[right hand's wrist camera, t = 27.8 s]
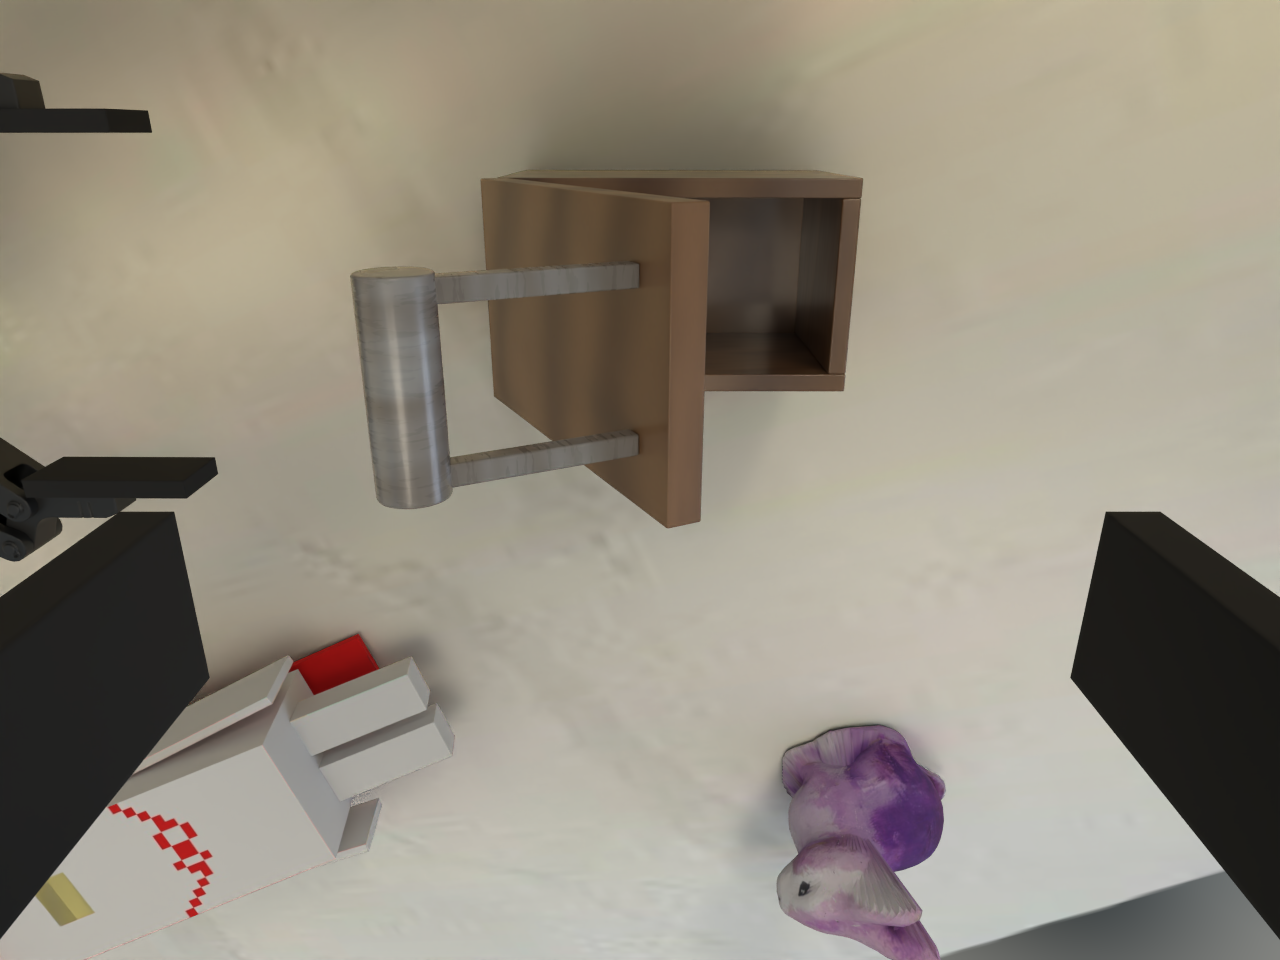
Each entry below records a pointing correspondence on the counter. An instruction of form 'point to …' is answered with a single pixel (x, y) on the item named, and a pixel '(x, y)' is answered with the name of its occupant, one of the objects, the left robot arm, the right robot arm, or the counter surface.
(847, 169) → the counter surface
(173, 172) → the counter surface
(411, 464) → the lid
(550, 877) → the counter surface
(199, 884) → the toy
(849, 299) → the chest
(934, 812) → the figurine
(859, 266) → the counter surface
